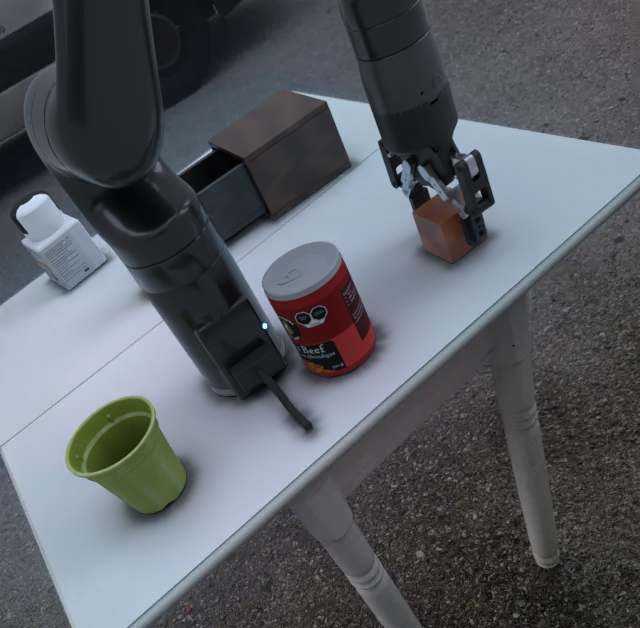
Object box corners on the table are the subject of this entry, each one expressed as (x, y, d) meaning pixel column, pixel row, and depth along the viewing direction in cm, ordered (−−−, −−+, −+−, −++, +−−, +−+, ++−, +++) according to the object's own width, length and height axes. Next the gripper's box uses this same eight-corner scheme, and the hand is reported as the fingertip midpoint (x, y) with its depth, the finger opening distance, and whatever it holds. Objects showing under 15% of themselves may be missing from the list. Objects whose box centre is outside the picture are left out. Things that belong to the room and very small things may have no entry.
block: (488, 237, 76) (477, 197, 73) (452, 263, 75) (440, 225, 72) (458, 224, 80) (447, 186, 76) (424, 250, 79) (411, 212, 76)
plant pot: (105, 533, 69) (48, 480, 63) (136, 457, 75) (87, 402, 69) (186, 526, 65) (133, 469, 59) (212, 446, 71) (167, 388, 65)
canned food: (292, 364, 75) (246, 283, 67) (345, 316, 77) (305, 233, 69) (337, 389, 69) (292, 305, 62) (393, 337, 71) (355, 249, 64)
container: (51, 280, 113) (-5, 211, 105) (88, 250, 115) (37, 181, 107) (69, 291, 108) (12, 220, 99) (108, 260, 110) (55, 187, 101)
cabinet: (275, 220, 97) (243, 158, 91) (237, 198, 107) (206, 140, 100) (352, 165, 99) (326, 100, 93) (308, 148, 108) (283, 88, 102)
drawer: (185, 274, 95) (154, 226, 90) (157, 249, 104) (128, 204, 98) (283, 204, 98) (259, 153, 92) (249, 185, 106) (224, 138, 101)
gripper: (336, 100, 71) (387, 233, 82) (423, 122, 60) (469, 271, 71) (393, 60, 72) (436, 196, 83) (488, 74, 62) (523, 228, 72)
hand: (451, 230), depth 77 cm, fingers open, 8 cm apart
